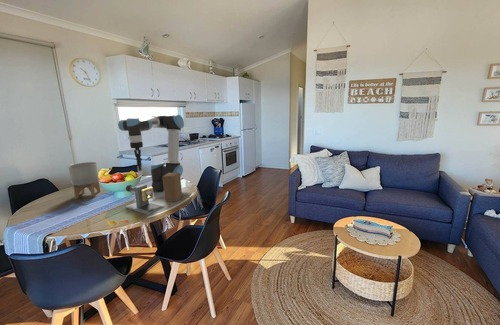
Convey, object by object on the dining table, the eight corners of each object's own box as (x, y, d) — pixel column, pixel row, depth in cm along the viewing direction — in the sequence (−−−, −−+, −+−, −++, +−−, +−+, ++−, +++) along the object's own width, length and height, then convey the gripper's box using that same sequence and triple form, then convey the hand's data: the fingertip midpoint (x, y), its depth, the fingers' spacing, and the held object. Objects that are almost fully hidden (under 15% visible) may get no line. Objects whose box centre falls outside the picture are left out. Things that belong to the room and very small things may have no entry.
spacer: (153, 197, 171) (152, 187, 169) (144, 201, 165) (143, 190, 163) (152, 196, 172) (150, 186, 170) (142, 200, 166) (141, 190, 164)
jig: (164, 206, 173) (162, 185, 169) (147, 214, 161) (144, 192, 157) (142, 201, 184) (140, 181, 181) (125, 207, 173) (122, 186, 169)
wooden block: (176, 201, 181) (174, 176, 177) (164, 201, 183) (161, 175, 179) (182, 197, 191) (180, 172, 186) (171, 196, 193) (168, 172, 188)
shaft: (154, 195, 168) (153, 189, 167) (148, 197, 164) (147, 191, 163) (132, 190, 180) (131, 184, 179) (126, 192, 176) (125, 186, 175)
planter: (82, 200, 187) (75, 168, 182) (69, 196, 197) (63, 166, 191) (106, 193, 203) (101, 163, 197) (93, 189, 213) (88, 161, 207)
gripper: (130, 139, 168) (134, 168, 174) (129, 145, 146) (134, 178, 152) (141, 138, 171) (145, 167, 177) (142, 143, 149) (147, 176, 155)
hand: (140, 172), depth 164 cm, fingers open, 13 cm apart
